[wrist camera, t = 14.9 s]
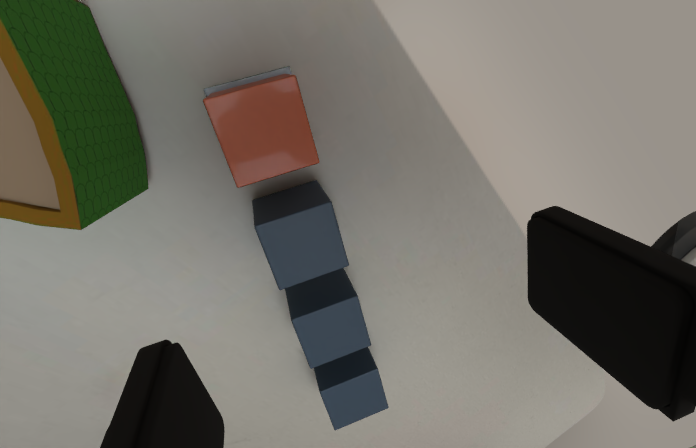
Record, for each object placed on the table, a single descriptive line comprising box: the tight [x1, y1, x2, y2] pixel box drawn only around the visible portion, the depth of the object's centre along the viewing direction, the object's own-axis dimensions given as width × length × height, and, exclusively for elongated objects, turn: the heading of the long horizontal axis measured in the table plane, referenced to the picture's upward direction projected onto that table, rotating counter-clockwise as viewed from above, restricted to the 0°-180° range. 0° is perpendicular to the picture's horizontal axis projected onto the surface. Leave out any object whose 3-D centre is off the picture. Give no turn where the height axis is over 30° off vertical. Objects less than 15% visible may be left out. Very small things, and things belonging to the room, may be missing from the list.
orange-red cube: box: [203, 74, 319, 188], centre depth 20 cm, size 5×5×5 cm
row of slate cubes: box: [204, 66, 388, 430], centre depth 25 cm, size 5×26×5 cm, turn 14°
